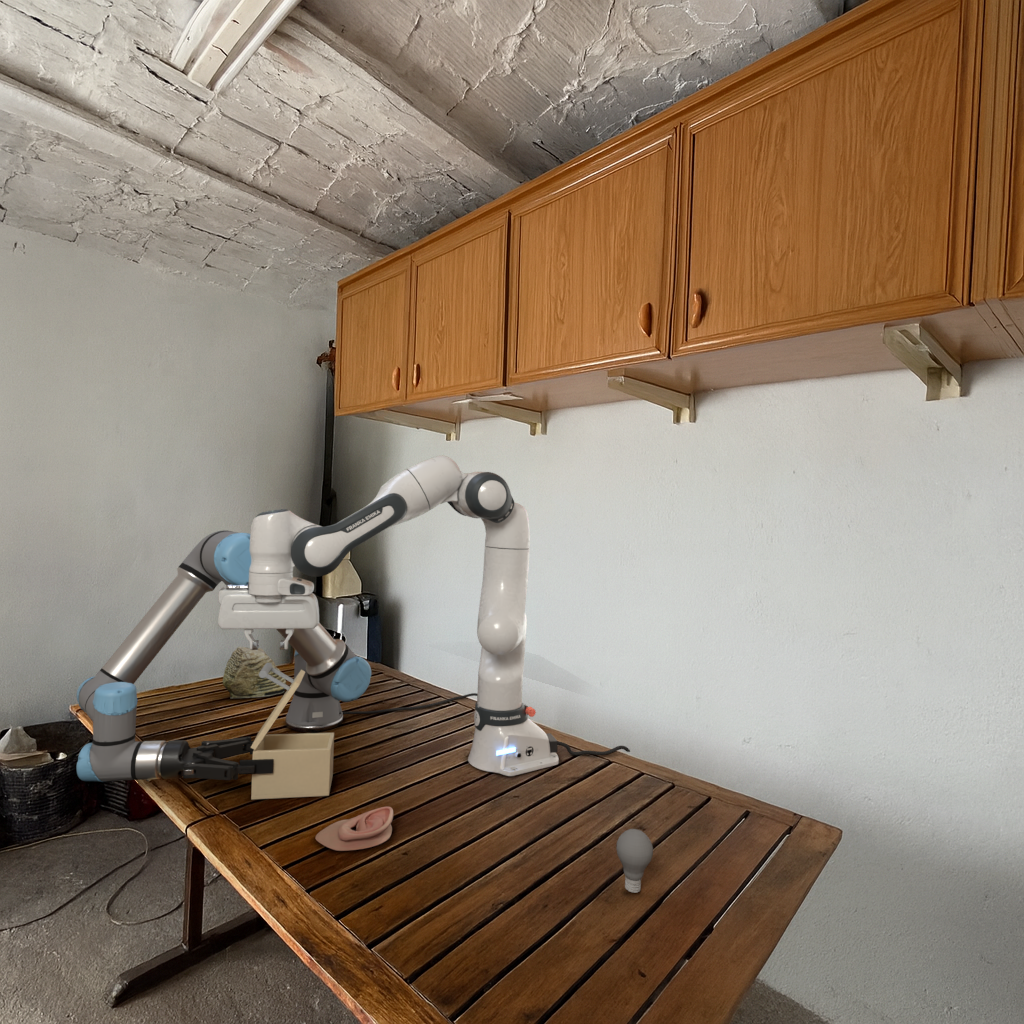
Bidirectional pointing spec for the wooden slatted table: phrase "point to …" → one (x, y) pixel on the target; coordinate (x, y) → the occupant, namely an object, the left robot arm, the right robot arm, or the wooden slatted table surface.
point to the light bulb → (634, 857)
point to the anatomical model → (358, 831)
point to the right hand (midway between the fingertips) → (269, 649)
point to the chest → (295, 766)
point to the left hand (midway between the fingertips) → (277, 756)
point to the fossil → (250, 674)
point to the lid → (282, 702)
